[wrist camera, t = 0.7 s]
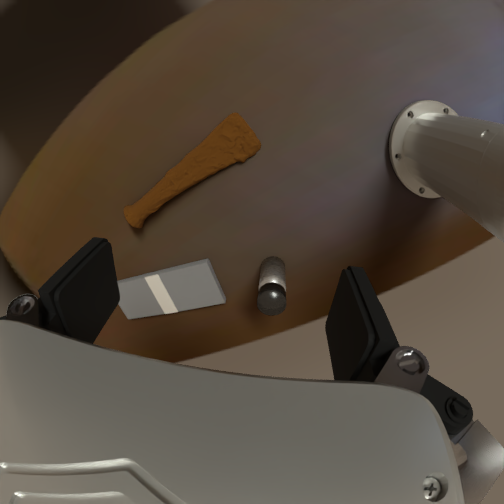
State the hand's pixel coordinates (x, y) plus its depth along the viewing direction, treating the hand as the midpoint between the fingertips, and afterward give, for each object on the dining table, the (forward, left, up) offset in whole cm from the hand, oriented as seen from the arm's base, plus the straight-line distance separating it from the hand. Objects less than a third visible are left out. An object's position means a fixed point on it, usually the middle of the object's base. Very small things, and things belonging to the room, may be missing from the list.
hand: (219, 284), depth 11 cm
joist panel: (+19, +14, -24) cm, 33 cm away
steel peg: (+2, +14, -24) cm, 27 cm away
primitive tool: (+8, -2, -25) cm, 26 cm away
